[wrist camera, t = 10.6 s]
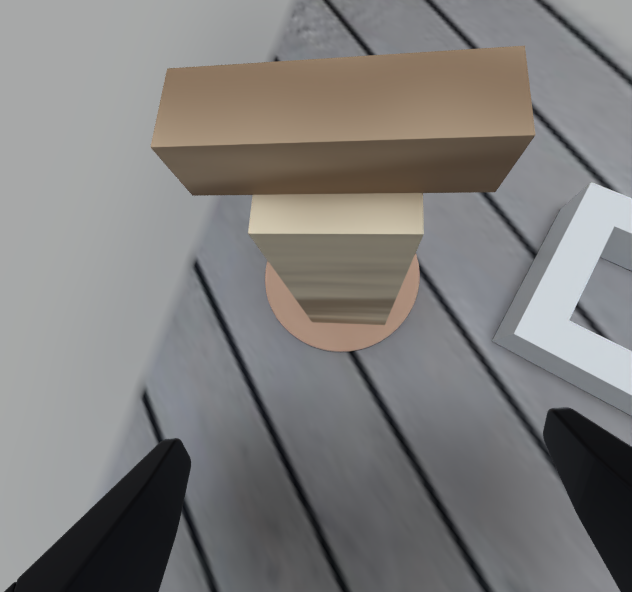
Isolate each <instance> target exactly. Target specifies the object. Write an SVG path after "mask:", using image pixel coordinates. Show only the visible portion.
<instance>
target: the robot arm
mask: <svg viewBox="0 0 632 592" xmlns="http://www.w3.org/2000/svg"><path fill="white" fill-rule="evenodd" d="M543 437H544V441H545V444H546V446H547V449H548V451H549V453H550V455H551V458H552V460H553V462H554V464H555V467H556V469H557V471H558V473H559V476H560V478H561V480H562V482H563V485H564V487H565V489H566V491H567V494H568V496H569V498H570V500H571V502H572V504H573V507H574V509H575V511H576V513H577V515H578V517H579V518H580V520H581V522H582V524H583V526H584V528H585V529H586V531H587V533H588V535H589V536H590V538H591V540H592V542H593V544H594V545H595V547H596V549H597V551H598V552H599V554H600V556H601V558H602V559H603V561H604V563H605V565H606V567H607V568H608V570H609V572H610V574H611V575H612V577H613V579H614V581H615V582H616V584H617V586H618V588H619V589H620V591H621V592H632V447H631V446H630V445H628V444H627V443H625V442H623V441H622V440H620V439H619V438H617V437H616V436H614V435H612V434H611V433H609V432H608V431H606V430H605V429H603V428H602V427H600V426H598V425H597V424H595V423H594V422H592V421H591V420H589V419H587V418H586V417H584V416H583V415H581V414H580V413H578V412H576V411H575V410H573V409H571V408H568V407H563V408H552V409H550V410H549V411H548V413H547V417H546V421H545V426H544V430H543ZM190 469H191V459H190V456H189V454H188V453H187V451H186V449H185V447H184V445H183V443H182V441H181V440H180V439H178V438H175V439H165V440H163V441H161V442H160V443H159V444H158V445H157V446H156V447H155V448H154V449H153V450H152V451H151V452H149V453H148V454H147V455H146V456H145V457H144V458H143V459H142V460H141V461H140V462H139V463H138V464H137V465H136V466H135V467H134V468H133V469H132V470H131V471H130V472H129V473H128V474H127V475H126V476H124V477H123V478H122V479H121V480H120V481H119V482H118V483H117V484H116V485H115V486H114V487H113V488H112V489H111V490H110V491H109V492H108V493H107V494H106V495H105V496H104V497H103V498H102V499H100V500H99V501H98V502H97V503H96V504H95V505H94V506H93V507H92V508H91V509H90V510H89V511H88V512H87V513H86V514H85V515H84V516H83V517H82V518H81V519H80V520H79V521H78V522H76V523H75V524H74V526H72V527H71V528H70V529H69V530H68V531H67V532H66V533H65V534H64V535H63V536H62V537H61V538H60V539H59V540H58V541H57V542H56V543H55V544H54V545H53V546H52V547H51V548H49V549H48V550H47V551H46V552H45V553H44V554H43V555H42V556H41V557H40V558H39V559H38V560H37V561H36V562H35V563H34V564H33V565H32V566H31V567H30V568H29V569H27V570H26V571H25V572H24V573H23V574H22V575H21V576H20V577H19V578H18V580H17V582H14V583H13V584H12V585H11V586H10V587H9V588H8V589H6V591H4V592H159V588H160V585H161V582H162V579H163V576H164V572H165V569H166V566H167V563H168V559H169V556H170V553H171V550H172V546H173V543H174V540H175V536H176V533H177V529H178V525H179V521H180V516H181V511H182V507H183V502H184V497H185V492H186V488H187V483H188V478H189V473H190Z"/></svg>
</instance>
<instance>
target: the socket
mask: <svg viewBox="0 0 632 592" xmlns="http://www.w3.org/2000/svg"><path fill="white" fill-rule="evenodd" d="M599 257H601V258H604V259H606V260H608V261H610V262H613V263H615V264H617V265H619V266H622V267H624V268H626V269H628V270H631V271H632V198H630V197H627V196H625V195H622V194H620V193H617V192H615V191H612V190H609V189H607V188H604V187H602V186H599V185H597V184H594V183H592V182H591V183H590V184H588V185H587V186H586V187H585V188H584V189H583V190H582V191H580V192H579V193H578V194H577V195H576V196H575V197H574V198H572V199H571V200H570V201H569V202H568V203H567V204H566V205H565V206H563V207H562V208H561V209H560V211H559V213H558V215H557V217H556V219H555V221H554V223H553V225H552V227H551V228H550V230H549V232H548V234H547V236H546V238H545V240H544V242H543V244H542V246H541V248H540V250H539V252H538V253H537V255H536V257H535V259H534V261H533V263H532V265H531V267H530V269H529V271H528V273H527V275H526V277H525V278H524V280H523V282H522V284H521V286H520V288H519V290H518V292H517V294H516V296H515V298H514V300H513V302H512V304H511V305H510V307H509V309H508V311H507V313H506V315H505V317H504V319H503V321H502V323H501V325H500V327H499V329H498V330H497V332H496V334H495V336H494V338H493V340H492V341H493V342H495V343H496V344H498V345H500V346H502V347H504V348H506V349H508V350H509V351H511V352H513V353H515V354H517V355H519V356H521V357H523V358H524V359H526V360H528V361H530V362H532V363H534V364H536V365H537V366H539V367H541V368H543V369H545V370H547V371H549V372H550V373H552V374H554V375H556V376H558V377H560V378H562V379H564V380H565V381H567V382H569V383H571V384H573V385H575V386H577V387H578V388H580V389H582V390H584V391H586V392H588V393H590V394H591V395H593V396H595V397H597V398H599V399H601V400H603V401H605V402H606V403H608V404H610V405H612V406H614V407H616V408H618V409H619V410H621V411H623V412H625V413H627V414H629V415H631V416H632V351H630V350H628V349H626V348H624V347H622V346H620V345H618V344H616V343H614V342H612V341H610V340H608V339H606V338H604V337H602V336H600V335H598V334H596V333H594V332H592V331H589V330H587V329H585V328H583V327H581V326H579V325H577V324H575V323H573V322H571V321H569V319H570V317H571V315H572V313H573V311H574V309H575V307H576V305H577V303H578V301H579V299H580V296H581V294H582V292H583V290H584V288H585V286H586V284H587V282H588V280H589V278H590V276H591V274H592V272H593V270H594V267H595V265H596V263H597V261H598V259H599Z"/></svg>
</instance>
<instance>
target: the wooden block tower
mask: <svg viewBox="0 0 632 592" xmlns="http://www.w3.org/2000/svg"><path fill="white" fill-rule="evenodd" d="M534 136H535V128H534V120H533V111H532V103H531V94H530V86H529V78H528V69H527V61H526V52H525V46H513V47H498V48H482V49H467V50H451V51H435V52H420V53H404V54H388V55H373V56H357V57H341V58H326V59H310V60H294V61H279V62H263V63H248V64H233V65H216V66H201V67H186V68H169V69H167V73H166V77H165V82H164V86H163V91H162V96H161V100H160V105H159V110H158V114H157V119H156V124H155V129H154V133H153V138H152V143H151V148H152V149H153V151H154V152H155V153H156V154H157V155H158V156H159V157H160V159H161V160H162V161H163V162H164V163H165V164H166V166H167V167H168V168H169V169H170V170H171V171H172V173H173V174H174V175H175V176H176V177H177V178H178V179H179V181H180V182H181V183H182V184H183V185H184V186H185V187H186V189H187V190H188V191H189V192H190V193H191V194H192V195H253V197H252V206H251V214H250V222H249V231H248V234H249V235H250V237H251V238H252V240H253V241H254V242H255V244H256V245H257V246H258V248H259V249H260V251H261V252H262V253H263V255H264V256H265V258H266V259H267V260H268V262H269V263H270V264H271V266H272V267H273V269H274V270H275V271H276V273H277V274H278V276H279V277H280V278H281V280H282V281H283V282H284V284H285V285H286V287H287V288H288V289H289V291H290V292H291V294H292V295H293V296H294V298H295V299H296V301H297V302H298V303H299V305H300V306H301V307H302V309H303V310H304V312H305V313H306V314H307V316H308V317H309V319H310V320H311V321H312V322H316V323H341V324H367V325H385V323H386V321H387V319H388V316H389V314H390V312H391V309H392V307H393V305H394V302H395V300H396V298H397V295H398V293H399V291H400V288H401V286H402V284H403V281H404V279H405V277H406V274H407V272H408V270H409V267H410V265H411V263H412V260H413V258H414V256H415V253H416V251H417V249H418V246H419V244H420V242H421V239H422V237H423V234H424V230H423V193H458V192H496V190H497V189H498V187H499V186H500V185H501V183H502V182H503V180H504V179H505V178H506V176H507V175H508V173H509V172H510V170H511V169H512V168H513V166H514V165H515V163H516V162H517V160H518V159H519V158H520V156H521V155H522V153H523V152H524V151H525V149H526V148H527V146H528V145H529V143H530V142H531V141H532V139H533V138H534Z"/></svg>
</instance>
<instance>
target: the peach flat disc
mask: <svg viewBox="0 0 632 592" xmlns="http://www.w3.org/2000/svg"><path fill="white" fill-rule="evenodd" d="M419 276H420V272H419V264H418V260H417V256H416V253H415V256H414V258H413V260H412V263H411V265H410V267H409V270H408V272H407V274H406V277H405V279H404V281H403V284H402V286H401V288H400V291H399V293H398V295H397V298H396V300H395V302H394V305H393V307H392V309H391V312H390V314H389V316H388V319H387V321H386V323H385V325H367V324H341V323H316V322H312V321H311V320H310V319H309V317H308V316H307V314H306V313H305V312H304V310H303V309H302V307H301V306H300V305H299V303H298V302H297V301H296V299H295V298H294V296H293V295H292V294H291V292H290V291H289V289H288V288H287V287H286V285H285V284H284V282H283V281H282V280H281V278H280V277H279V276H278V274H277V273H276V271H275V270H274V269H273V267H272V266H271V264H270V263H269V262H267V266H266V273H265V285H266V293H267V297H268V300H269V303H270V306H271V308H272V310H273V312H274V314H275V315H276V317H277V319H278V320H279V321H280V323H281V324H282V325H283V326H284V327H285V328H286V329H287V330H288V331H289V332H290V333H291V334H292V335H294V336H295V337H296V338H298V339H299V340H301V341H302V342H304V343H306V344H308V345H310V346H313V347H315V348H318V349H322V350H326V351H333V352H350V351H356V350H361V349H364V348H367V347H370V346H373V345H375V344H377V343H379V342H381V341H382V340H384V339H385V338H387V337H388V336H390V335H391V334H392V333H393V332H394V331H395V330H397V328H398V327H399V326H400V325H401V324H402V323H403V322H404V320H405V319H406V317H407V316H408V314H409V313H410V311H411V309H412V307H413V305H414V303H415V300H416V296H417V293H418V288H419Z"/></svg>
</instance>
